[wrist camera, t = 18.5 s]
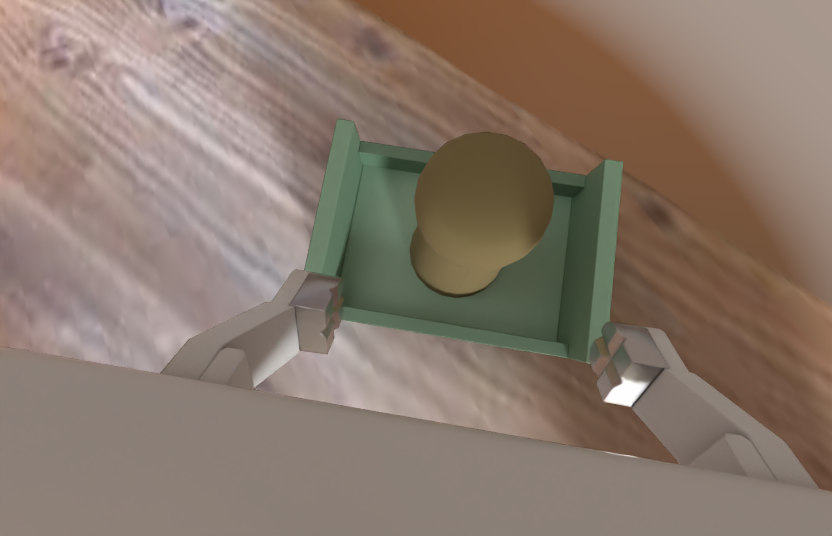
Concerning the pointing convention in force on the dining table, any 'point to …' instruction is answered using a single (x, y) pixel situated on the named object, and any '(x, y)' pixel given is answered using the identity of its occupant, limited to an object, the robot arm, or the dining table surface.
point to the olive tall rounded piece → (478, 212)
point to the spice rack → (515, 283)
